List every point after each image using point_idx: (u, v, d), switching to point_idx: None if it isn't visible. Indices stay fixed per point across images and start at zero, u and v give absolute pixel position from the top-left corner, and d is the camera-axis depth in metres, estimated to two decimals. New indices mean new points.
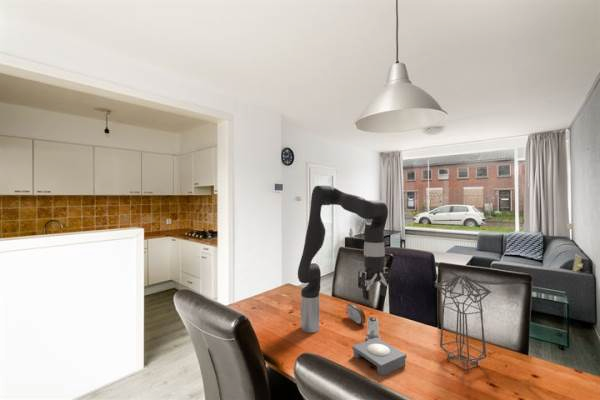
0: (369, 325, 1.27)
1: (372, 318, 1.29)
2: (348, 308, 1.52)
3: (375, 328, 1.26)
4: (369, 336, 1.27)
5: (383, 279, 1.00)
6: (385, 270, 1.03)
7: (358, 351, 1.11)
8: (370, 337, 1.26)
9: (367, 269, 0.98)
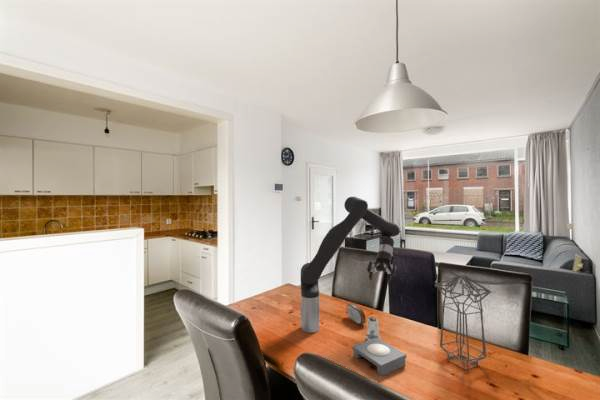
0: (369, 325, 1.27)
1: (372, 318, 1.29)
2: (348, 308, 1.52)
3: (375, 328, 1.26)
4: (369, 336, 1.27)
5: None
6: None
7: (358, 351, 1.11)
8: (370, 337, 1.26)
9: None
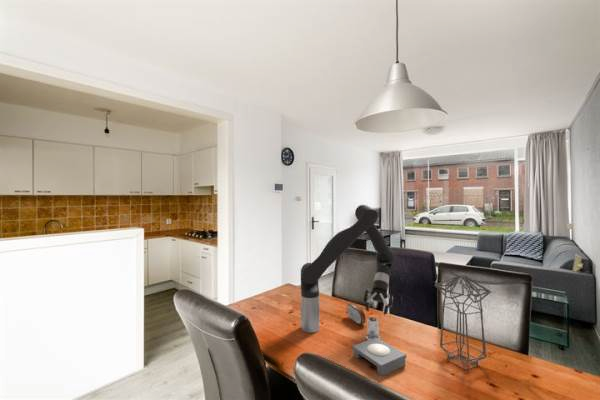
0: (369, 325, 1.27)
1: (372, 318, 1.29)
2: (348, 308, 1.52)
3: (375, 328, 1.26)
4: (369, 336, 1.27)
5: None
6: None
7: (358, 351, 1.11)
8: (370, 337, 1.26)
9: (386, 293, 1.39)
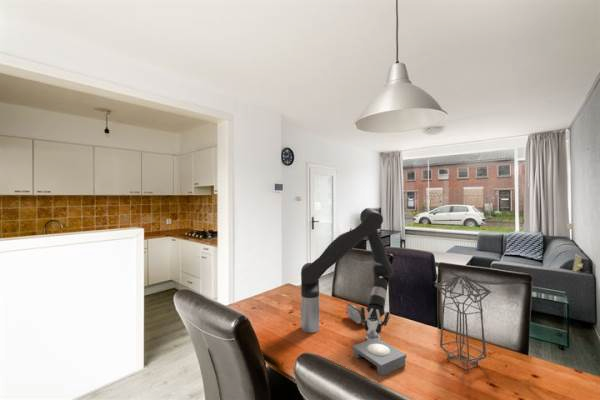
0: (369, 325, 1.27)
1: (372, 318, 1.29)
2: (348, 308, 1.52)
3: (374, 328, 1.26)
4: (369, 336, 1.27)
5: None
6: None
7: (358, 351, 1.11)
8: (370, 337, 1.26)
9: (383, 309, 1.32)
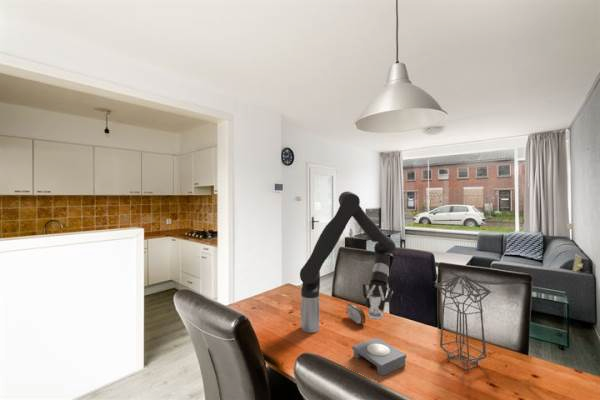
0: (371, 302, 1.19)
1: (374, 294, 1.21)
2: (348, 308, 1.52)
3: (377, 305, 1.18)
4: (371, 313, 1.19)
5: None
6: None
7: (358, 351, 1.11)
8: (372, 314, 1.19)
9: (386, 286, 1.25)
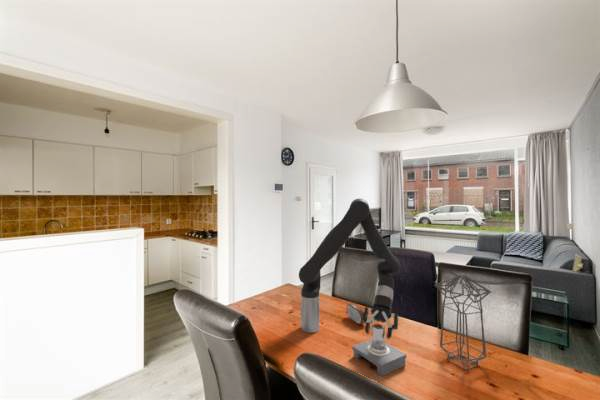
0: (374, 333, 1.09)
1: (377, 325, 1.11)
2: (348, 308, 1.52)
3: (380, 337, 1.08)
4: (374, 346, 1.09)
5: None
6: None
7: (358, 351, 1.11)
8: (375, 347, 1.09)
9: (390, 311, 1.15)
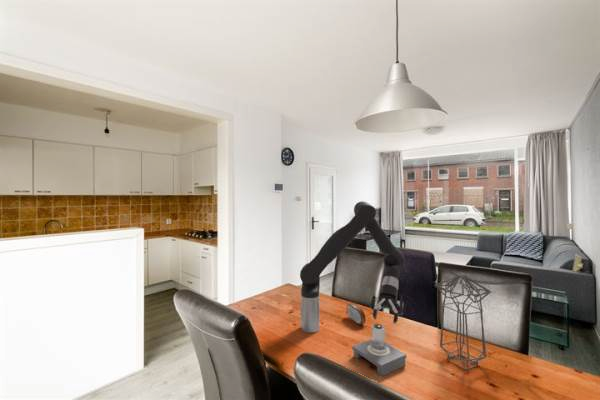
0: (374, 333, 1.09)
1: (377, 325, 1.11)
2: (348, 308, 1.52)
3: (380, 337, 1.08)
4: (374, 346, 1.09)
5: None
6: None
7: (358, 351, 1.11)
8: (375, 347, 1.09)
9: (396, 299, 1.26)
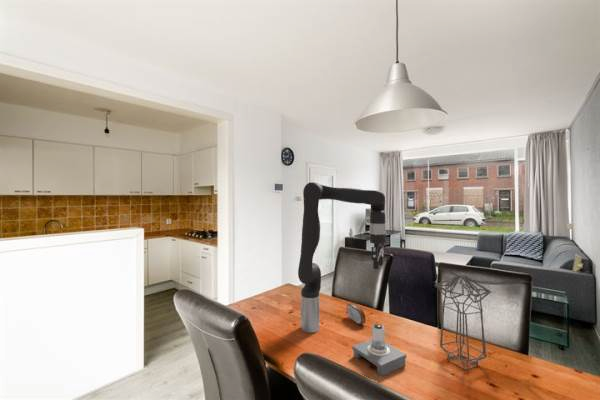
0: (374, 333, 1.09)
1: (377, 325, 1.11)
2: (348, 308, 1.52)
3: (380, 337, 1.08)
4: (374, 346, 1.09)
5: (383, 252, 1.30)
6: (381, 245, 1.32)
7: (358, 351, 1.11)
8: (375, 347, 1.09)
9: (376, 245, 1.25)
